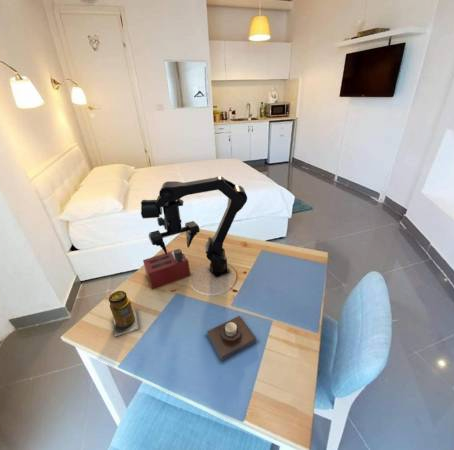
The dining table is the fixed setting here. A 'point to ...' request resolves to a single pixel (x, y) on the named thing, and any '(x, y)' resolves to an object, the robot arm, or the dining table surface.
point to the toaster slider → (178, 255)
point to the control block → (231, 338)
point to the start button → (230, 329)
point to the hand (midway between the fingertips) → (177, 250)
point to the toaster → (165, 269)
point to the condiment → (122, 313)
